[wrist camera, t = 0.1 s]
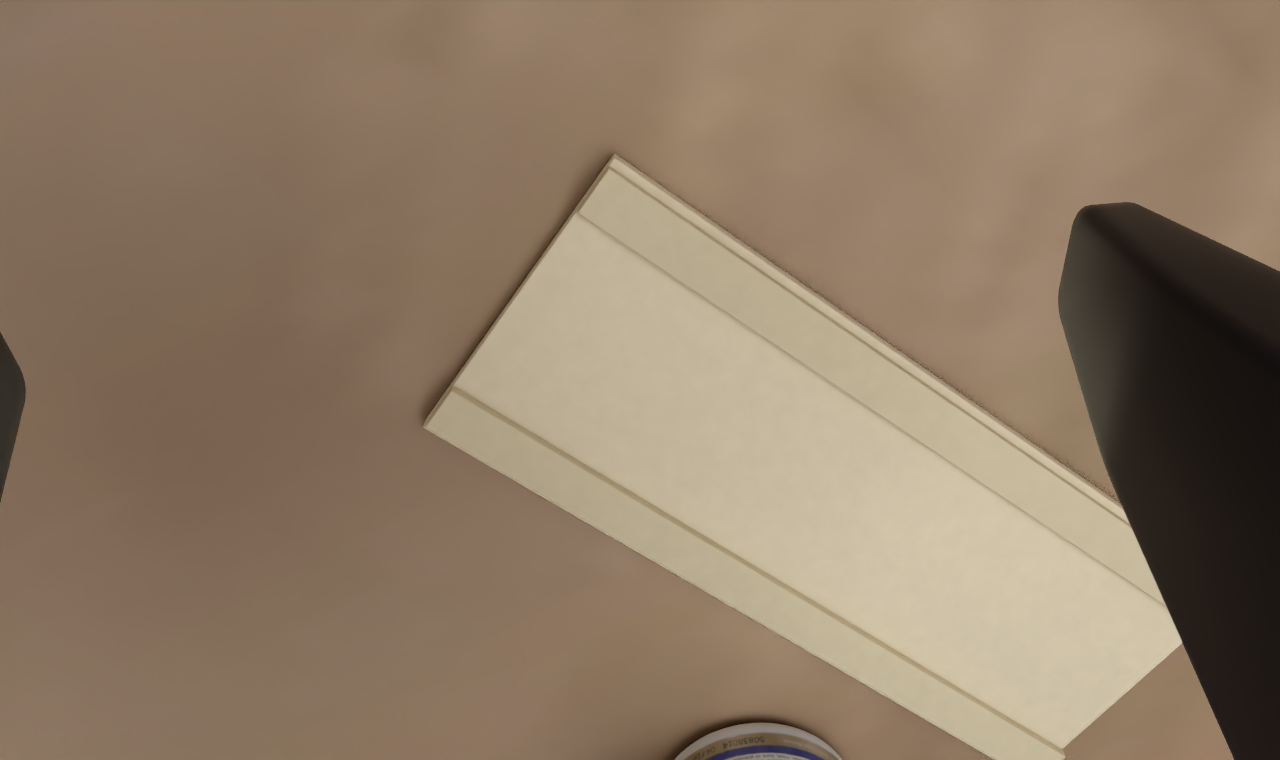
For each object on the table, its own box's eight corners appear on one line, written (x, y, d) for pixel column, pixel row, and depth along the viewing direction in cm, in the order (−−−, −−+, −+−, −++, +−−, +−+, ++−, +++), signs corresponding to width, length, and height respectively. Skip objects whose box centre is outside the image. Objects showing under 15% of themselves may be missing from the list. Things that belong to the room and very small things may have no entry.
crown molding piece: (1023, 769, 33) (1031, 788, 32) (424, 420, 27) (420, 434, 27) (1234, 582, 30) (1247, 598, 29) (613, 152, 24) (613, 161, 24)
